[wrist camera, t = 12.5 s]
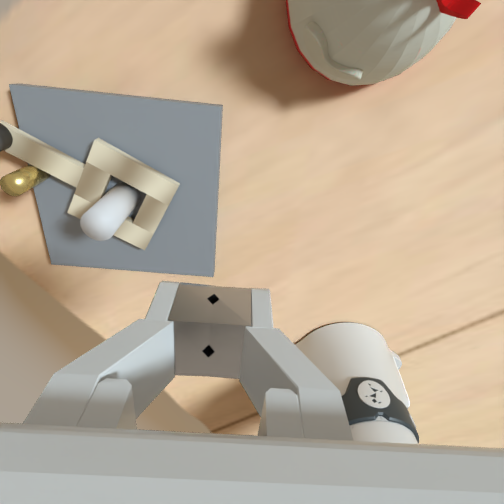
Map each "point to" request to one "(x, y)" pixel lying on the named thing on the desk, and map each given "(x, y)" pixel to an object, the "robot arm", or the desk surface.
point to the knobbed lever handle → (98, 179)
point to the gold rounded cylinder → (23, 180)
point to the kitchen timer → (370, 34)
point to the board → (146, 142)
